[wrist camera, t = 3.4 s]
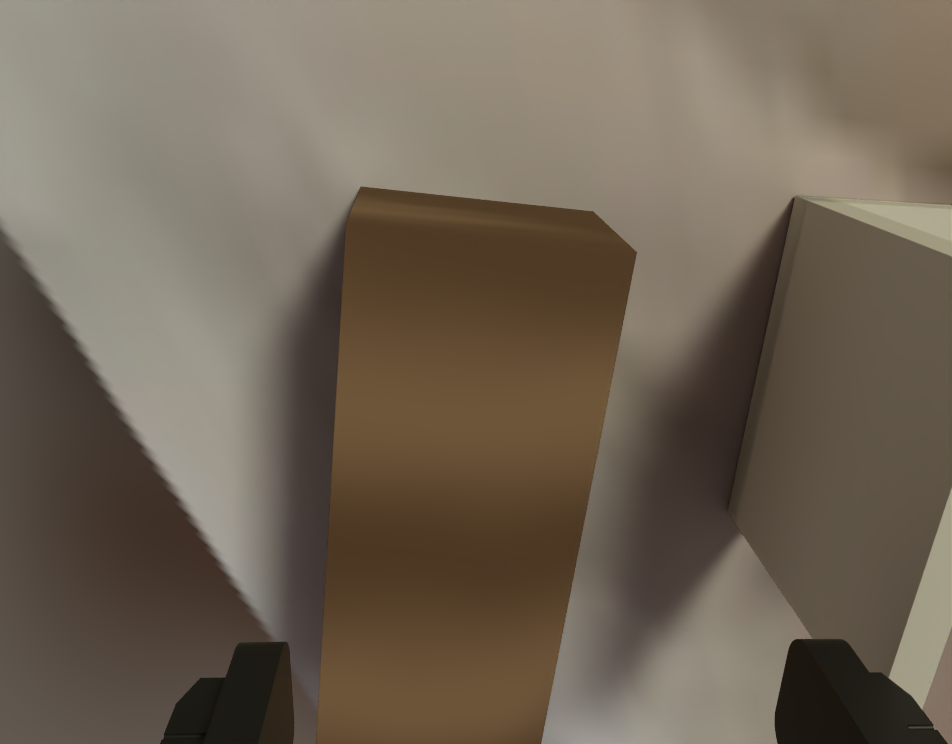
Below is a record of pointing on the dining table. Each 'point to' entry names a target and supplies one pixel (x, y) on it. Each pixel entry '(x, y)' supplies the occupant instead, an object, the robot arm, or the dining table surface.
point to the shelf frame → (858, 432)
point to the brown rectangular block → (461, 461)
